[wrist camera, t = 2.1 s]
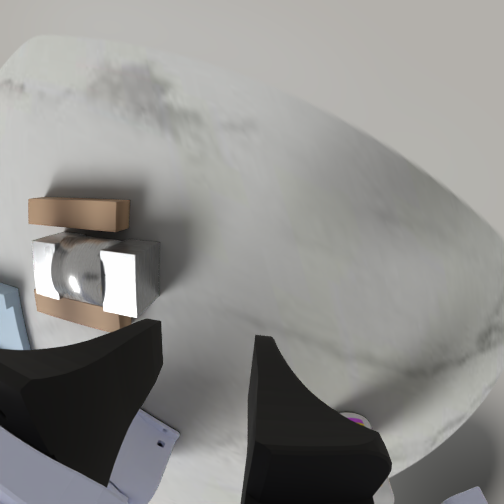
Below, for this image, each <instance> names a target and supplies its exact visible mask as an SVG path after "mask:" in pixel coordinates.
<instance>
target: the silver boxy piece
mask: <svg viewBox="0 0 504 504" xmlns="http://www.w3.org/2000/svg"><path fill="white" fill-rule="evenodd" d="M32 254H33V266H34V275H35V283H36V291H37V294H40V295H44V296H47V297H51V298H54V299H58V300H60V299H62V298H63V297H65V298H69V299H73V300H77V301H81V302H85V303H89V304H94V305H98V306H102V307H103V310H104V311H106V312H111V313H115V314H120V315H125V316H129V317H134V318H138V317H139V316H140V315H141V314H142V313H143V312H144V311H145V310H146V309H147V308H148V307H149V306H150V305H151V304H152V303H153V302H154V301H155V300H156V299H157V298H158V297H159V254H160V242H153V241H144V240H135V239H127V240H125V241H122V242H121V241H119V240H113V239H104V238H95V237H86V234H79V233H70V232H61V233H57V234H54V235H50V236H47V237H43V238H40V239H36V240H33V241H32Z"/></svg>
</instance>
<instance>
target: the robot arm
mask: <svg viewBox="0 0 504 504" xmlns="http://www.w3.org/2000/svg"><path fill="white" fill-rule="evenodd" d="M162 365H163V354H162V333H161V321H157V320H152V319H144V320H141V321H138V322H135V323H133V324H130V325H128V326H126V327H123V328H121V329H118V330H116V331H113V332H111V333H108V334H105V335H103V336H100V337H97V338H94V339H91V340H88V341H85V342H81V343H77V344H73V345H68V346H63V347H56V348H49V349H39V350H11V349H0V504H148V502H149V501H150V500H151V498H152V497H153V495H154V493H155V492H156V490H157V488H158V486H159V484H160V481H161V479H162V476H163V473H164V471H165V468H166V465H167V463H168V460H169V457H170V455H171V452H172V449H173V447H174V444H175V441H176V440H177V439H178V438H179V436H180V434H179V432H177V431H176V430H174V429H172V428H170V427H169V426H167V425H165V424H164V423H162V422H160V421H159V420H157V419H155V418H154V417H152V416H151V415H149V414H147V413H146V412H144V411H143V410H141V409H140V407H141V406H142V404H143V403H144V401H145V399H146V398H147V396H148V394H149V393H150V391H151V389H152V388H153V386H154V384H155V382H156V380H157V378H158V375H159V373H160V370H161V368H162ZM391 468H392V462H391V459H390V457H389V454H388V451H387V449H386V446H385V444H384V442H383V440H382V438H381V436H380V434H379V432H376V431H374V430H372V429H369V428H367V427H365V426H363V425H360V424H358V423H356V422H354V421H352V420H350V419H348V418H346V417H345V416H343V415H341V414H340V413H338V412H336V411H335V410H333V409H332V408H330V407H329V406H328V405H326V404H325V403H324V402H322V401H321V400H320V399H318V398H317V397H316V396H315V395H314V394H313V393H311V392H310V391H309V390H308V389H307V388H306V387H305V386H304V385H303V384H302V382H301V381H300V380H299V379H298V378H297V376H296V375H295V374H294V373H293V371H292V370H291V368H290V367H289V366H288V364H287V363H286V361H285V359H284V358H283V356H282V355H281V353H280V351H279V349H278V347H277V345H276V343H275V340H274V339H273V338H272V337H271V336H261V335H255V343H254V352H253V360H252V369H251V377H250V385H249V393H248V446H247V458H246V466H245V474H244V482H243V489H242V497H241V504H374V500H373V495H374V494H375V493H376V492H377V490H378V489H379V488H380V487H381V485H382V484H383V483H384V481H385V480H386V479H387V477H388V475H389V474H390V472H391ZM441 504H488V503H487V501H486V499H485V497H484V495H483V493H482V491H481V489H480V487H474V488H472V489H469V490H467V491H464V492H462V493H459V494H457V495H454V496H452V497H450V498H448V499H446V500H445V501H443V502H442V503H441Z"/></svg>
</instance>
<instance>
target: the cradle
mask: <svg viewBox="0 0 504 504" xmlns="http://www.w3.org/2000/svg"><path fill="white" fill-rule="evenodd" d="M0 349H11V350H31V348H30V344H29V341H28V337H27V332H26V328H25V324H24V319H23V314H22V309H21V303H20V298H19V292H18V288H15V287H12V286H9V285H6V284H3V283H0Z"/></svg>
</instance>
